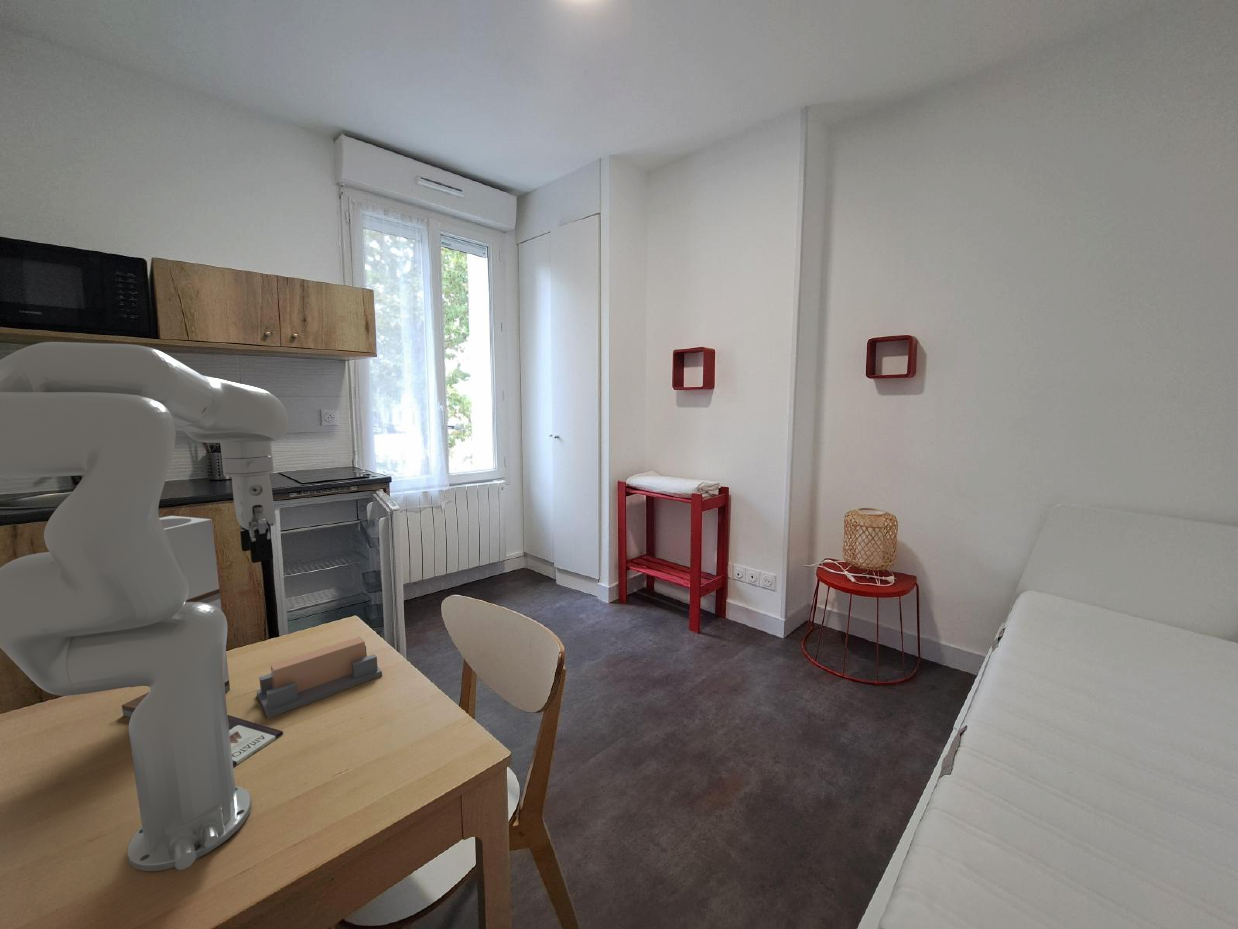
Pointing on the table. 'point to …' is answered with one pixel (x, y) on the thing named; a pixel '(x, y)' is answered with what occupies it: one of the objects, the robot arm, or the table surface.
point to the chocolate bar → (248, 738)
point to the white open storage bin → (192, 570)
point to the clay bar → (318, 665)
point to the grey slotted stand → (289, 698)
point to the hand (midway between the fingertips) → (257, 555)
